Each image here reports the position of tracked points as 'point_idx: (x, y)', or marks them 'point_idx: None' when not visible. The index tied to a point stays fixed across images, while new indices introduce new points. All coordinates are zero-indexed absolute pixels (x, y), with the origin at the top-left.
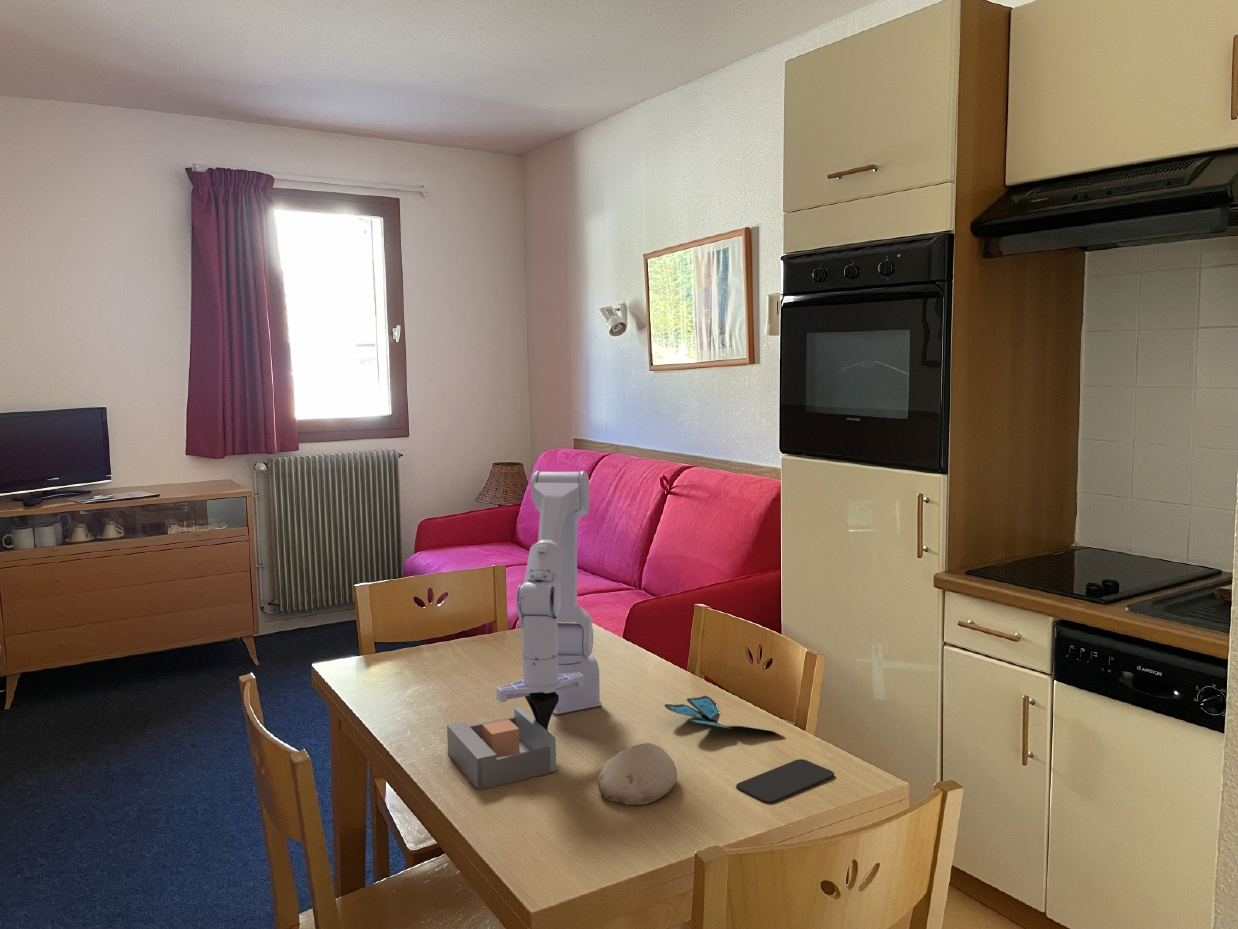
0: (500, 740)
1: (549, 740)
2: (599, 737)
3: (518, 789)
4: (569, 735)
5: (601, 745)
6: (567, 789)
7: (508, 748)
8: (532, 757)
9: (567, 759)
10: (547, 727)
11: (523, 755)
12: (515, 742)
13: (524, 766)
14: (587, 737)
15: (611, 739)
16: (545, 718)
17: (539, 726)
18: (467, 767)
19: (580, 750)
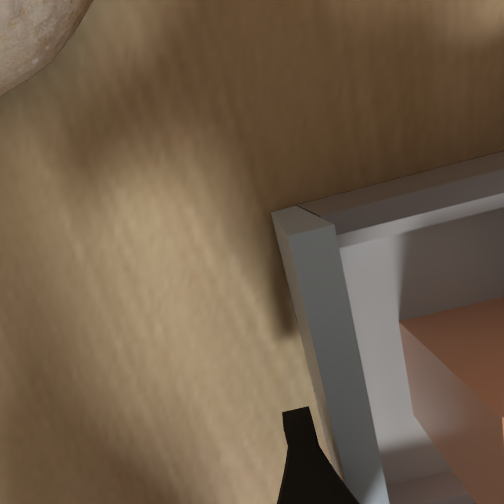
0: None
1: (330, 226)
2: (71, 456)
3: (449, 87)
4: (174, 491)
5: (69, 395)
6: (253, 28)
7: (488, 337)
8: (412, 187)
9: (209, 312)
10: (290, 448)
11: (480, 174)
12: (467, 359)
13: (435, 176)
14: (113, 465)
15: (28, 433)
16: (315, 501)
17: (352, 438)
18: None
19: (150, 373)
